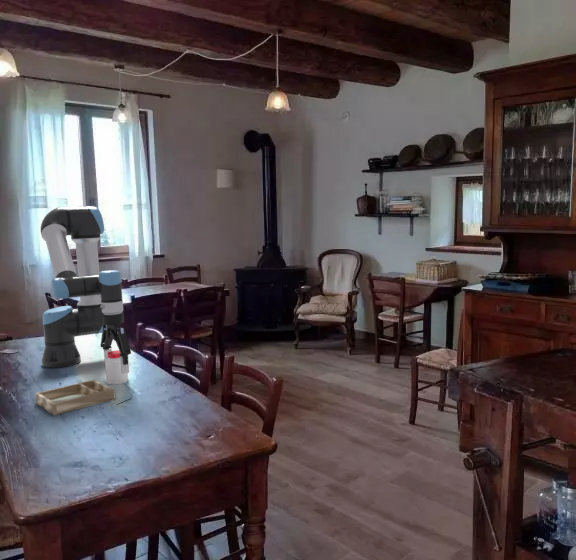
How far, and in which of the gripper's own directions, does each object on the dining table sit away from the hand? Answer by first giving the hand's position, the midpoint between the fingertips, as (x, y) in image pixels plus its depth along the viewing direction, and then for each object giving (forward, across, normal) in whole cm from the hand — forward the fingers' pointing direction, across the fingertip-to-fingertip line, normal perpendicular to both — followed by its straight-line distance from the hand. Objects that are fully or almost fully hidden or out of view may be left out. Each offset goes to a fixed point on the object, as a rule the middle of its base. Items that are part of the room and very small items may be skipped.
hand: (116, 369), depth 209 cm
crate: (+5, +11, -20) cm, 23 cm away
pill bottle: (+5, 0, 0) cm, 5 cm away
